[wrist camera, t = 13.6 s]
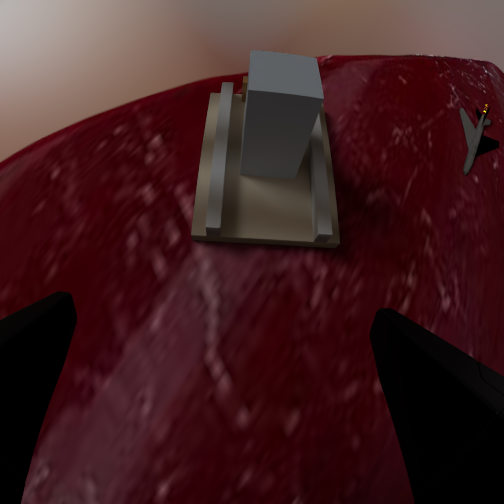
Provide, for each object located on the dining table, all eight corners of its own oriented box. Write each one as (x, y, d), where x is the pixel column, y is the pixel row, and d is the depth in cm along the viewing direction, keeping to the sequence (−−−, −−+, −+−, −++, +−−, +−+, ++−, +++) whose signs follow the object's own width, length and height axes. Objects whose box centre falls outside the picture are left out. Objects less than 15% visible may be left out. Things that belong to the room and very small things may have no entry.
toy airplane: (437, 155, 30) (447, 143, 28) (467, 90, 37) (473, 81, 35) (484, 199, 29) (496, 189, 27) (502, 121, 35) (509, 113, 33)
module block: (294, 179, 25) (323, 98, 17) (239, 174, 25) (248, 89, 16) (292, 135, 27) (315, 55, 18) (242, 131, 26) (251, 47, 18)
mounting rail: (335, 248, 24) (351, 230, 21) (192, 240, 24) (187, 219, 20) (320, 109, 30) (329, 85, 26) (211, 100, 29) (210, 73, 26)
